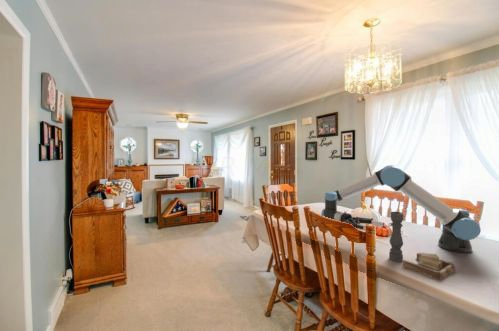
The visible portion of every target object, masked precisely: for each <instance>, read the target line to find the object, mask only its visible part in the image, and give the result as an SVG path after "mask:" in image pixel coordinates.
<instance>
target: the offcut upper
mask: <svg viewBox="0 0 499 331" xmlns="http://www.w3.org/2000/svg"><path fill="white" fill-rule="evenodd" d="M419 253H420V255H419V258H420V260H421V261H423V262H429V263H436V264H439V260H440V257H439V256H438V254H436V253H429V252H421V251H419Z"/></svg>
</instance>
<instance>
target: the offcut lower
mask: <svg viewBox="0 0 499 331" xmlns="http://www.w3.org/2000/svg"><path fill="white" fill-rule="evenodd" d="M418 265H420V266H423V267H426V268H429V269H432V270H435V271H440V269H443V267H442V262H440V261H439V264H436V263H429V262H423V261H421V260H420V258H419V260H418Z"/></svg>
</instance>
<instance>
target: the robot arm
mask: <svg viewBox="0 0 499 331" xmlns="http://www.w3.org/2000/svg"><path fill="white" fill-rule="evenodd" d="M378 186H382V187H383V186H386V187H387V186H388V187H390V188H391V189H392V190H394V192H397V193H398V192H401V193H402V194H404V195H405V197H407V198H409V199H410V200H411V201H413V202H415V203H416V204H417V205H418V206H420V207H421V208H422V209H424V210H425V211H427V212H428V213H429V214H431V215H432V216H433V217H435V218H436V219H437V220H439V222H440V225H441V227H442V228H441V230H442V232H441V234H440V237H439V239H438V242H437V244H438V247H440V248H442V249H445V250H448V251H451V252H457V253H464V254H465V253H467V254H468V253H469V254H470V253H472V251H473V246H472V244H471V240H474V239H476V238H478V237H479V236H480V234H481V230H482V229H481V226H480V224H479V223H478V222H477V221H476V220H475V219H473V218H471V217H470V212H469V210H466V209H458V208H451V207H450V206H449V205H447V204H446V203H444V201H442V200H441V199H439V198H437V197H436V196H435V195H433V194H432V193H430V192H429V191H427V190H426V189H425V188H424V187H422V186H420V185H419V184H417V183H416V182H414V181H413V180H412V176H411V175H409V174H408V173H406V172H405V171H404V170H402V168H400V167H399V166H396V165H393V164H391V165H386V166H384V167H383V168H381V169H379V170H378V171H375V172H374V173H373V175H370V176H367V177H365V178H362V179H360V180H358V181H355V182H354V183H353V182H352V183H350V184H349V185H346V186H345V187H344V186H343V187H342V188H340V189H338V190H334V191H326V192H325V193H324V194H325V195H324V208H323V209H322V211H321V213H320V215H322V216H325V217H328V218H331V219H334V220H337V221H341V222H344V223H349V224H352V225H353V226H354V227H356V228H357V229H359V230H362V231H366V230H365V226H367V225H369V224H370V225H371V224H372V226H376V227H380V228H384V222H383V221H379V220H376V219H375V220H374V218H373V217H372V218H370V217H369V218H367V217H359V216H352V215H351V214H350V213H347V212H342V211H338V202H341V201H343V200H345V199H348V198H351V197H353V196H356V195H359V194H361V193H364V192H366V191H368V190H371V189H373V188H375V187H378ZM322 216H321V217H322ZM366 224H367V225H366ZM366 232H367V231H366Z"/></svg>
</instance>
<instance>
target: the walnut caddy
mask: <svg viewBox="0 0 499 331" xmlns="http://www.w3.org/2000/svg"><path fill="white" fill-rule="evenodd" d="M419 255H420V252H417V253H416V260H418V261H419ZM439 261H440V262H442V268H441V270H436V269H433V268H430V267H427V266H424V265H421V264H419V263H414V262H411V261H409V260H406V259H403V262H402V267H403V266H404V267H403V268H406V269H409V270H410V271H411V270H412V271H415V272H417V273H419V274H422V275H425V276H428V277H430V276H431V278H433V279H437V280H439V281H442V280H443V279H445V278H446V277H447V276H449V275H450V274H451V273H453V272H454V271H456V270H455V268H456V266H455V263H452V262H448V261H446V260H442V259H439Z"/></svg>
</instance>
